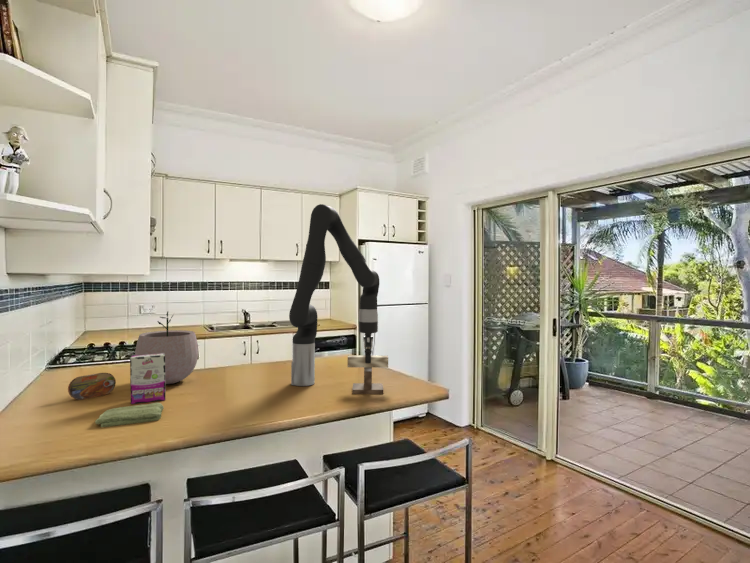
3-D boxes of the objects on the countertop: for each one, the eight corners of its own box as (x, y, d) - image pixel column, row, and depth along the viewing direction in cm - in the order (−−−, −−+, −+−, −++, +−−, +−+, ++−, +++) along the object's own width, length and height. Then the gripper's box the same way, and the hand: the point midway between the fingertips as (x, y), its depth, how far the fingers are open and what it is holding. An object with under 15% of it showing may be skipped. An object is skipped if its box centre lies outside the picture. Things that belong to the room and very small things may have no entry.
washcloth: (102, 416, 138) (102, 406, 138) (163, 410, 145) (164, 400, 145) (94, 429, 126) (94, 418, 126) (161, 422, 133) (161, 412, 133)
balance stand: (352, 393, 166) (352, 369, 166) (353, 386, 176) (353, 363, 176) (383, 393, 166) (383, 369, 166) (382, 387, 176) (382, 363, 176)
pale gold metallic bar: (387, 365, 173) (387, 355, 173) (388, 367, 169) (388, 357, 169) (347, 365, 173) (348, 355, 173) (347, 367, 169) (347, 357, 169)
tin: (70, 402, 152) (70, 378, 152) (66, 400, 154) (66, 377, 154) (116, 393, 164) (116, 371, 164) (112, 391, 166) (112, 370, 166)
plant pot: (127, 382, 181) (127, 310, 180) (186, 373, 197) (186, 308, 197) (145, 393, 163) (145, 314, 163) (207, 383, 180) (207, 311, 179)
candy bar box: (165, 397, 159) (165, 352, 159) (165, 400, 155) (165, 355, 154) (130, 400, 154) (130, 355, 154) (129, 404, 149) (130, 357, 149)
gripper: (378, 322, 164) (377, 364, 164) (377, 318, 178) (377, 357, 178) (358, 322, 163) (358, 364, 164) (359, 318, 178) (358, 357, 178)
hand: (368, 361), depth 171 cm, fingers open, 8 cm apart
